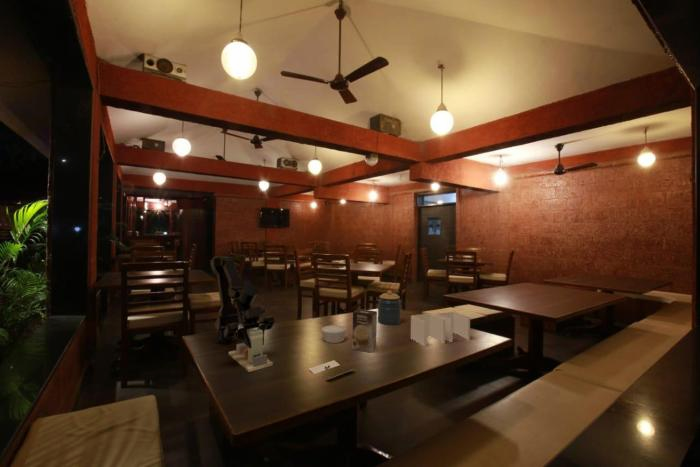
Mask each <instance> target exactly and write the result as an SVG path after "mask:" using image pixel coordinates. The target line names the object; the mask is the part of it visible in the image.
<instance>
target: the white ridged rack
mask: <svg viewBox="0 0 700 467" xmlns="http://www.w3.org/2000/svg"><path fill="white" fill-rule="evenodd" d="M235 349H236V352H237V353H239V354H244V355H245V356H248V346H247V345H245V344H244V343H243V342H240V343H237V344H236V347H235ZM267 359H268V354H267V353H266V354H265V353H264V354H263V355H261V356H256V355H254V358H253V367H257V366H260V365H264V364H267Z"/></svg>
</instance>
